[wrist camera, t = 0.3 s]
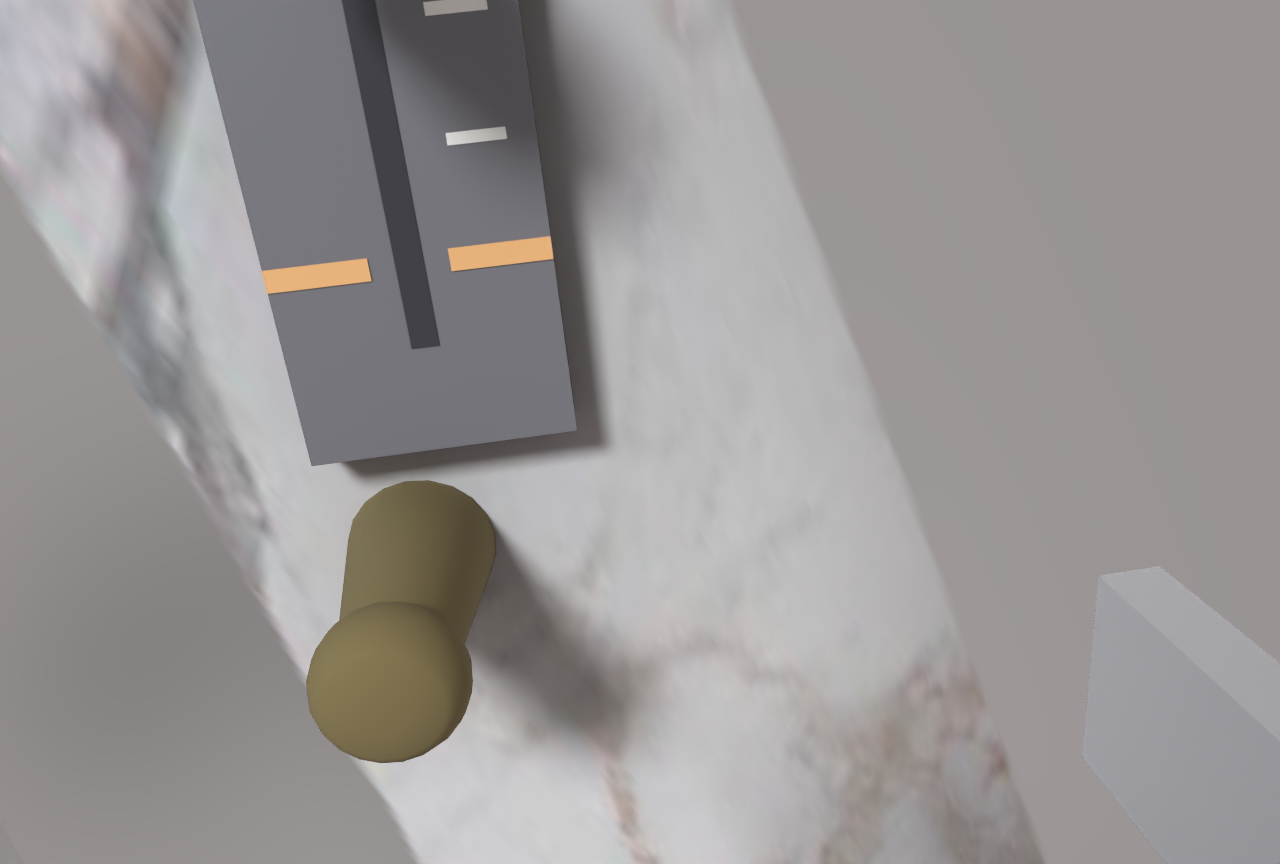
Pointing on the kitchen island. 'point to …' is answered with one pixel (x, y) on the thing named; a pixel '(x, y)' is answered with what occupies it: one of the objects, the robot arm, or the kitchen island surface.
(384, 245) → the fader console
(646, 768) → the kitchen island surface
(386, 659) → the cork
